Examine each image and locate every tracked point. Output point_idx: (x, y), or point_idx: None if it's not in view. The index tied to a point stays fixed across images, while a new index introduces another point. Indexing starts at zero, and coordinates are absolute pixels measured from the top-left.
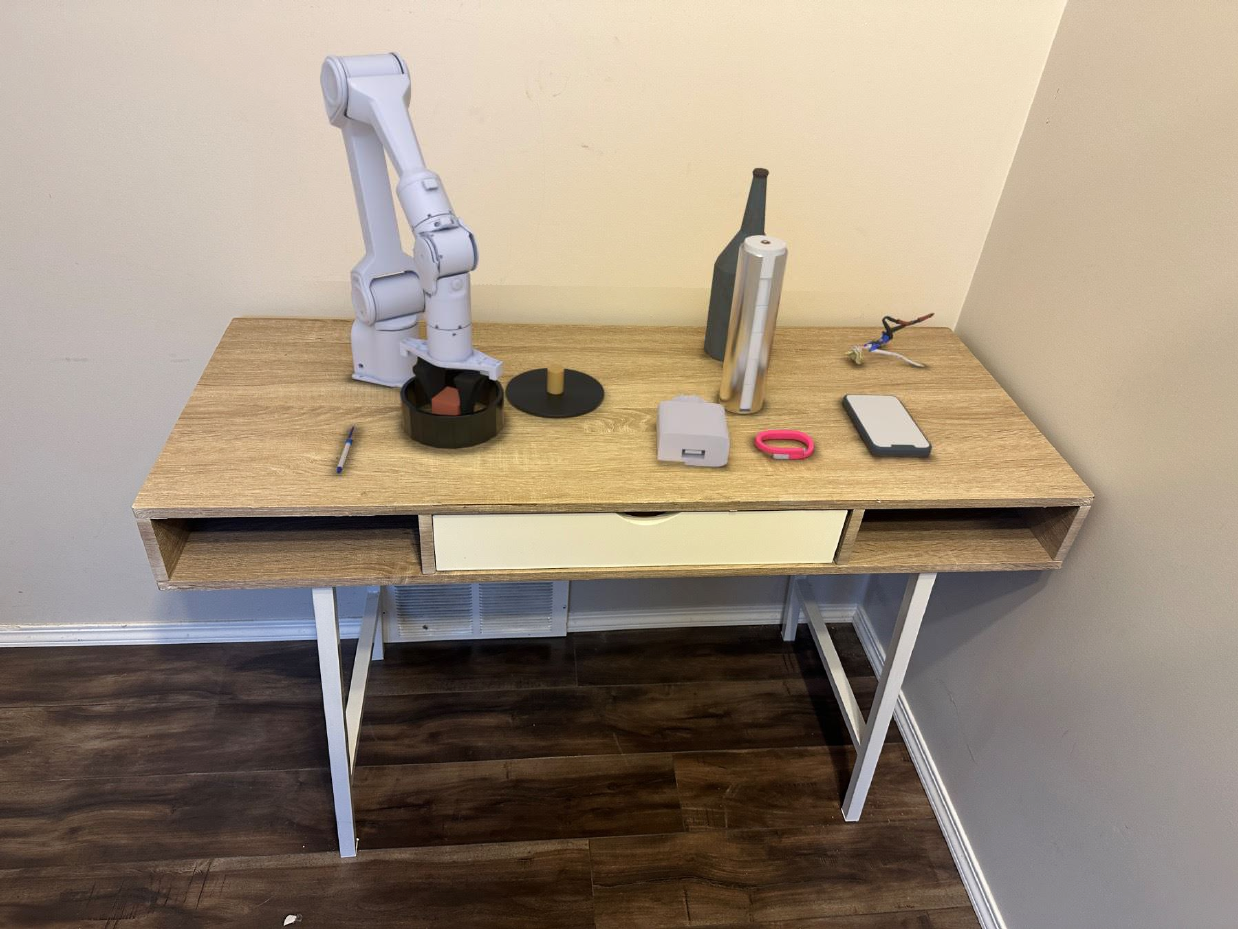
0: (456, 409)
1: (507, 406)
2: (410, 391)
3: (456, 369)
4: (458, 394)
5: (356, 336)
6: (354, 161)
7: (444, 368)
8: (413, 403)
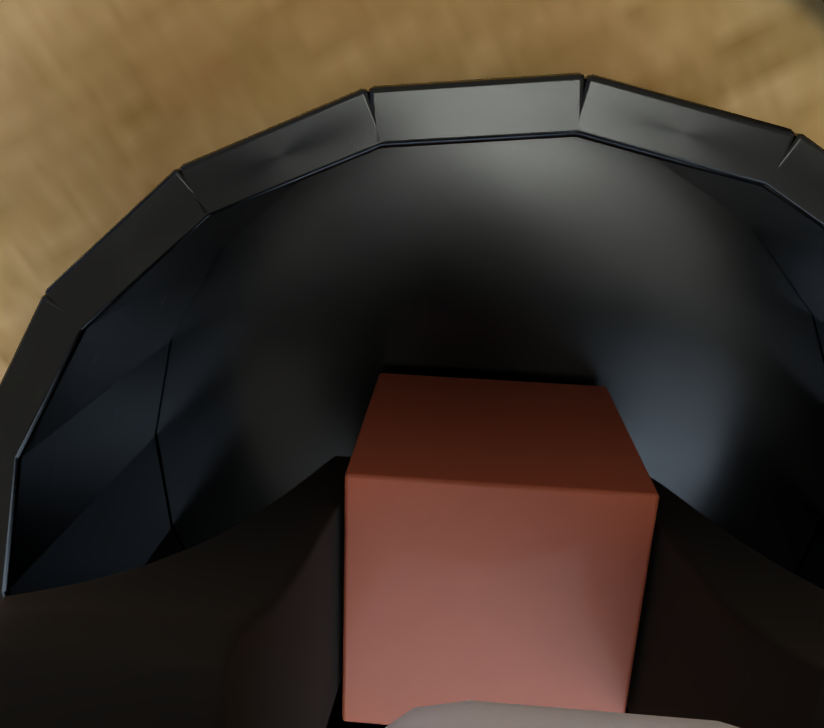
0: None
1: (772, 4)
2: None
3: (267, 187)
4: (530, 568)
5: None
6: None
7: (283, 636)
8: (129, 503)
